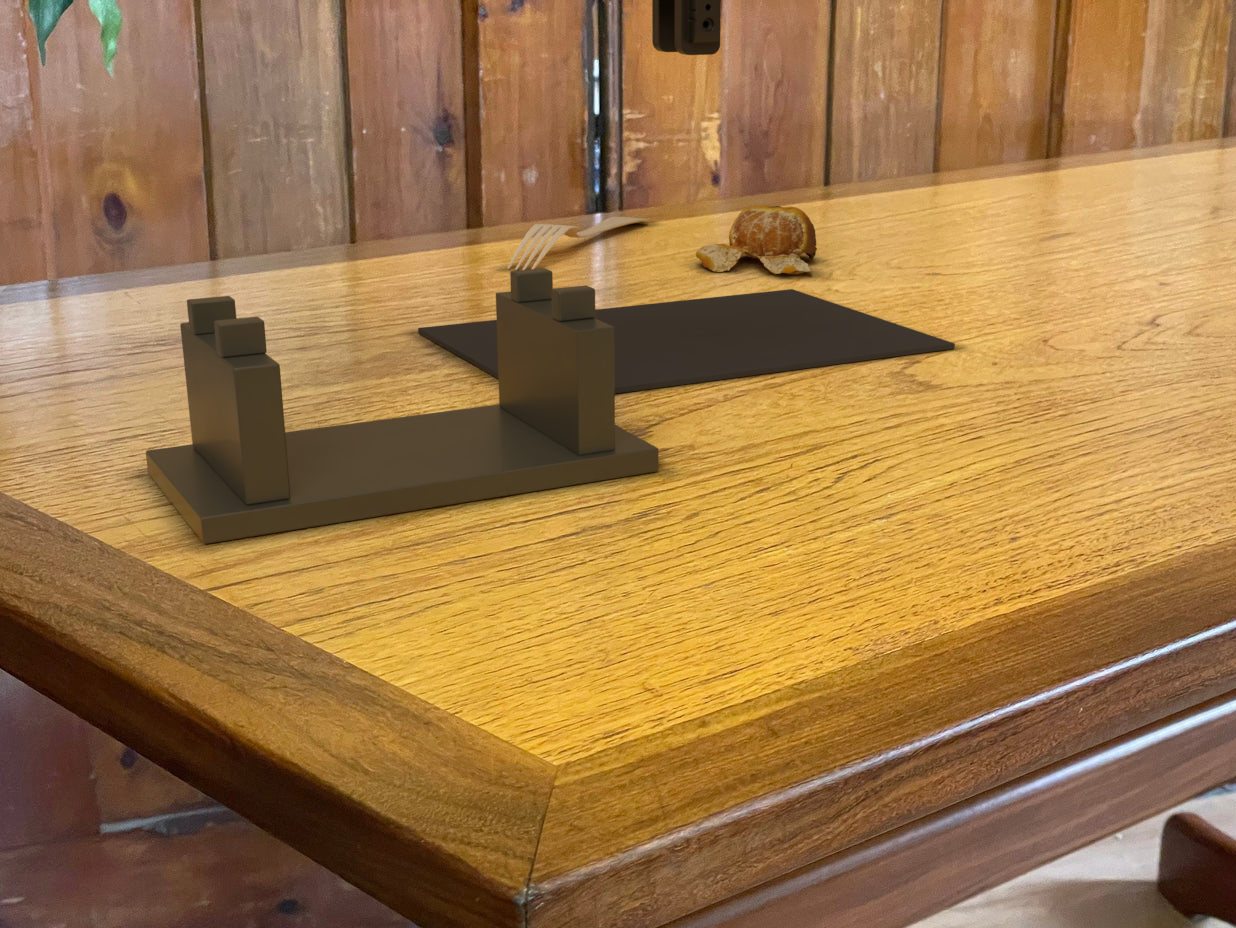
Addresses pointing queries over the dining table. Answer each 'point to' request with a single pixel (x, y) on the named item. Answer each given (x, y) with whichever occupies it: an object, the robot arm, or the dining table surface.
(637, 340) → the placemat
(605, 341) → the cutlery rack
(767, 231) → the fruit
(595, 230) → the fork
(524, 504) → the dining table surface
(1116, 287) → the dining table surface
